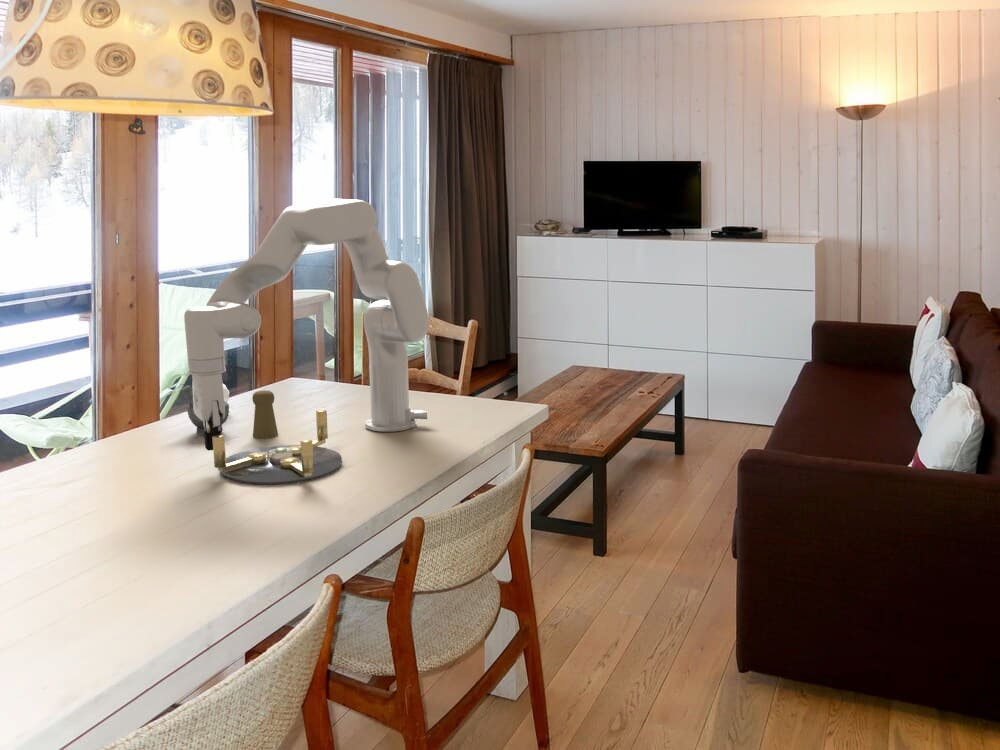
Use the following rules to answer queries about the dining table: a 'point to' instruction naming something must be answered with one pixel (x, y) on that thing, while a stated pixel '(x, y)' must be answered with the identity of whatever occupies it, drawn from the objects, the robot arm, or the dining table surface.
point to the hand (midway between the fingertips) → (213, 448)
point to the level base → (273, 472)
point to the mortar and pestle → (195, 420)
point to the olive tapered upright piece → (264, 415)
